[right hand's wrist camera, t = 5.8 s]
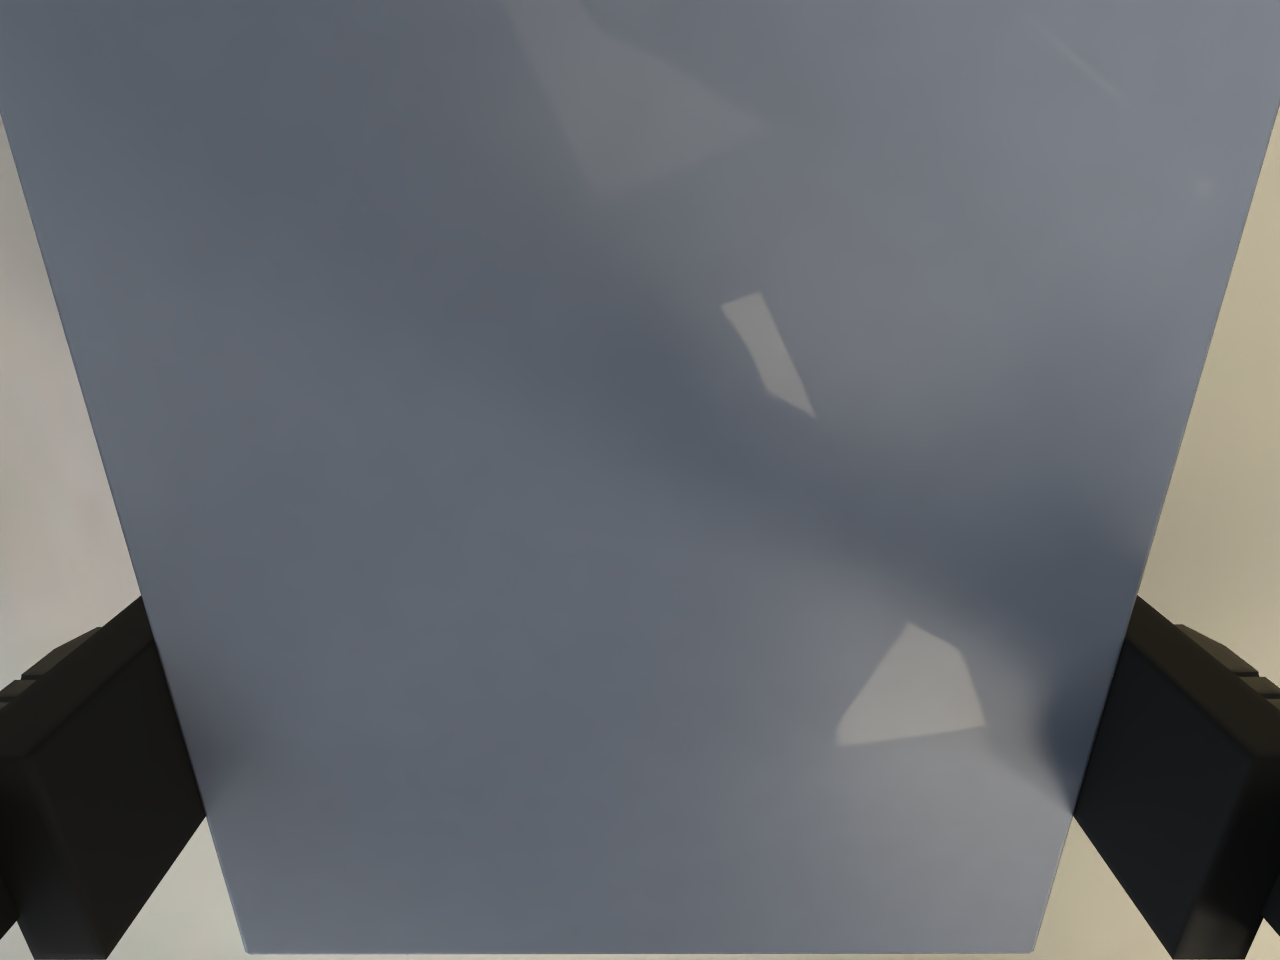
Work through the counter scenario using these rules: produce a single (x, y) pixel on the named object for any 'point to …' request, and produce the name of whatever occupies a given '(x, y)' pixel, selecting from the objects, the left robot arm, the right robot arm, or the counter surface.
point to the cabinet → (639, 436)
